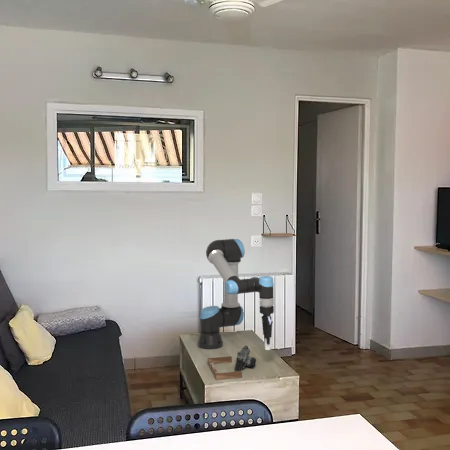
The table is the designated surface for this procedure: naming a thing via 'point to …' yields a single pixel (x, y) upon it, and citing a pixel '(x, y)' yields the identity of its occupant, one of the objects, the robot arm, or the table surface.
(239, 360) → the camera
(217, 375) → the dock
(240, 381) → the table surface
